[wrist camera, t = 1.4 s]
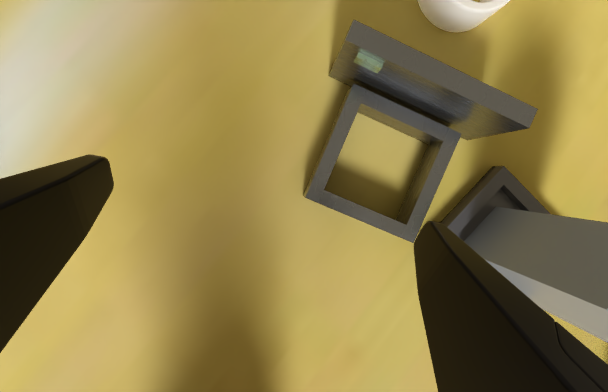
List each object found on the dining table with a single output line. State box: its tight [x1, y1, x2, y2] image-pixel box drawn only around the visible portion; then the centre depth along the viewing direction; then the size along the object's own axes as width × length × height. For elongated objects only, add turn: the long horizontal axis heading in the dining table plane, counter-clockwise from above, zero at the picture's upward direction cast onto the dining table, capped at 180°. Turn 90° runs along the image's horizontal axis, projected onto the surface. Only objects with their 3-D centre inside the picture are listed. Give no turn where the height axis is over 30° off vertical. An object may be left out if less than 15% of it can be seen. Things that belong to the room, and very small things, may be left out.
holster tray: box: [441, 166, 550, 241], centre depth 24 cm, size 9×9×1 cm
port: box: [303, 20, 538, 243], centre depth 20 cm, size 10×12×6 cm
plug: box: [464, 207, 608, 343], centre depth 18 cm, size 4×4×13 cm
